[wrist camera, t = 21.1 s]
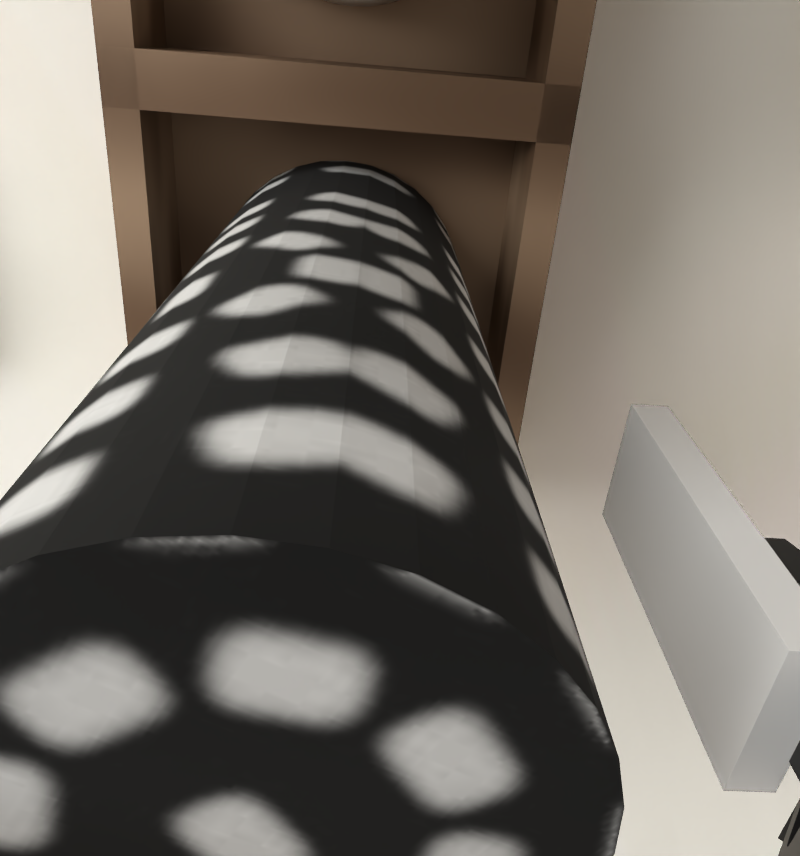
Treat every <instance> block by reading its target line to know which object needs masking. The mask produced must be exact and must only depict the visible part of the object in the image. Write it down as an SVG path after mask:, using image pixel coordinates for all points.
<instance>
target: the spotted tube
mask: <svg viewBox="0 0 800 856" xmlns="http://www.w3.org/2000/svg"><path fill="white" fill-rule="evenodd" d="M623 811H624V801H623V792H622V782H621V773H620V763H619V757H618V754H617V751H616V748H615V745H614V742H613V739H612V736H611V732H610V729H609V726H608V723H607V720H606V717H605V714H604V711H603V708H602V705H601V702H600V698H599V695H598V692H597V689H596V686H595V683H594V680H593V677H592V674H591V671H590V668H589V664H588V661H587V658H586V655H585V652H584V649H583V646H582V643H581V640H580V637H579V633H578V630H577V627H576V624H575V621H574V618H573V615H572V612H571V609H570V606H569V603H568V599H567V596H566V593H565V590H564V587H563V584H562V581H561V578H560V575H559V572H558V569H557V565H556V562H555V559H554V556H553V553H552V550H551V547H550V544H549V541H548V538H547V535H546V531H545V528H544V525H543V522H542V519H541V516H540V513H539V510H538V507H537V504H536V500H535V497H534V494H533V491H532V488H531V485H530V482H529V479H528V476H527V473H526V470H525V466H524V463H523V460H522V457H521V454H520V451H519V448H518V445H517V442H516V439H515V436H514V432H513V429H512V426H511V423H510V420H509V417H508V414H507V411H506V408H505V405H504V402H503V398H502V395H501V392H500V389H499V386H498V383H497V380H496V377H495V374H494V371H493V368H492V364H491V361H490V358H489V355H488V352H487V349H486V346H485V343H484V340H483V337H482V333H481V330H480V327H479V324H478V321H477V318H476V315H475V312H474V309H473V306H472V303H471V299H470V296H469V293H468V290H467V287H466V284H465V281H464V278H463V275H462V272H461V269H460V265H459V262H458V259H457V256H456V253H455V250H454V247H453V245H452V242H451V240H450V237H449V235H448V232H447V230H446V227H445V225H444V224H443V222H442V221H441V219H440V218H439V216H438V215H437V213H436V212H435V210H434V209H433V207H432V206H431V205H430V204H429V203H428V202H427V201H426V200H425V199H424V198H423V197H422V196H421V195H420V194H419V193H418V192H417V191H416V190H415V189H414V188H413V187H411V186H410V185H408V184H407V183H405V182H404V181H402V180H401V179H399V178H398V177H396V176H395V175H393V174H391V173H388V172H386V171H383V170H381V169H379V168H376V167H374V166H371V165H367V164H361V163H356V162H351V161H319V162H314V163H310V164H306V165H302V166H297V167H295V168H293V169H290V170H288V171H286V172H284V173H282V174H280V175H278V176H276V177H274V178H272V179H271V180H270V181H268V182H267V183H266V184H265V185H263V186H262V187H261V188H259V189H258V190H257V191H255V192H254V194H253V195H252V196H251V197H250V198H249V200H248V201H247V202H246V203H245V204H244V205H243V207H242V208H241V209H240V210H239V211H238V213H237V214H236V215H235V216H234V217H233V219H232V220H231V221H230V222H229V224H228V225H227V226H226V227H225V228H224V230H223V231H222V232H221V233H220V234H219V236H218V237H217V238H216V239H215V240H214V242H213V243H212V244H211V245H210V247H209V248H208V249H207V250H206V251H205V253H204V254H203V255H202V256H201V257H200V259H199V260H198V261H197V262H196V264H195V265H194V266H193V267H192V268H191V270H190V271H189V272H188V273H187V274H186V276H185V277H184V278H183V279H182V281H181V282H180V283H179V284H178V285H177V287H176V288H175V289H174V290H173V291H172V293H171V294H170V295H169V296H168V298H167V299H166V300H165V301H164V302H163V304H162V305H161V306H160V307H159V308H158V310H157V311H156V312H155V313H154V314H153V316H152V317H151V318H150V319H149V321H148V322H147V323H146V324H145V325H144V327H143V328H142V329H141V330H140V331H139V333H138V334H137V335H136V336H135V338H134V339H133V340H132V341H131V342H130V344H129V345H128V346H127V347H126V348H125V350H124V351H123V352H122V353H121V355H120V356H119V357H118V358H117V359H116V361H115V362H114V363H113V364H112V365H111V367H110V368H109V369H108V370H107V372H106V373H105V374H104V375H103V376H102V378H101V379H100V380H99V381H98V382H97V384H96V385H95V386H94V387H93V388H92V390H91V391H90V392H89V393H88V395H87V396H86V397H85V398H84V399H83V401H82V402H81V403H80V404H79V405H78V407H77V408H76V409H75V410H74V412H73V413H72V414H71V415H70V416H69V418H68V419H67V420H66V421H65V422H64V424H63V425H62V426H61V427H60V429H59V430H58V431H57V432H56V433H55V435H54V436H53V437H52V438H51V439H50V441H49V442H48V443H47V444H46V445H45V447H44V448H43V449H42V450H41V452H40V453H39V454H38V455H37V456H36V458H35V459H34V460H33V461H32V462H31V464H30V465H29V466H28V467H27V469H26V470H25V471H24V472H23V473H22V475H21V476H20V477H19V478H18V479H17V481H16V482H15V483H14V484H13V486H12V487H11V488H10V489H9V490H8V492H7V493H6V494H5V495H4V496H3V498H2V499H1V500H0V856H613V855H614V853H615V849H616V844H617V839H618V834H619V830H620V825H621V820H622V816H623Z"/></svg>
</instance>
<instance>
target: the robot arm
mask: <svg viewBox="0 0 800 856" xmlns="http://www.w3.org/2000/svg"><path fill="white" fill-rule="evenodd" d="M603 516H604V519H605V521H606V523H607V525H608V528H609V530H610V532H611V535H612V537H613V539H614V541H615V544H616V546H617V548H618V551H619V553H620V555H621V557H622V560H623V562H624V564H625V567H626V569H627V571H628V573H629V576H630V578H631V580H632V583H633V585H634V587H635V589H636V592H637V594H638V596H639V599H640V601H641V603H642V605H643V608H644V610H645V612H646V615H647V617H648V619H649V622H650V624H651V626H652V628H653V631H654V633H655V635H656V638H657V640H658V642H659V644H660V647H661V649H662V651H663V654H664V656H665V658H666V660H667V663H668V665H669V667H670V670H671V672H672V674H673V676H674V679H675V681H676V683H677V686H678V688H679V690H680V692H681V695H682V697H683V699H684V702H685V704H686V706H687V708H688V711H689V713H690V715H691V718H692V720H693V722H694V725H695V727H696V729H697V731H698V734H699V736H700V738H701V741H702V743H703V745H704V747H705V750H706V752H707V754H708V757H709V759H710V761H711V763H712V766H713V768H714V770H715V773H716V775H717V777H718V779H719V782H720V784H721V786H722V789H723V790H724V791H751V792H776V791H777V789H778V787H779V785H780V783H781V781H782V779H783V777H784V776H785V774H786V772H787V770H788V768H789V766H790V764H791V766H792V768H793V770H794V772H795V774H796V775H797V777H798V779H799V781H800V550H799V549H798V548H796V547H795V546H794V545H792V544H791V543H789V542H788V541H787V540H785V539H776V538H764V537H763V535H762V534H761V533H760V531H759V530H758V529H757V527H756V526H755V524H754V523H753V522H752V520H751V519H750V518H749V516H748V515H747V513H746V512H745V511H744V509H743V508H742V507H741V505H740V504H739V503H738V501H737V500H736V498H735V497H734V496H733V494H732V493H731V492H730V490H729V489H728V487H727V486H726V485H725V483H724V482H723V481H722V479H721V478H720V477H719V475H718V474H717V472H716V471H715V470H714V468H713V467H712V466H711V464H710V463H709V461H708V460H707V459H706V457H705V456H704V455H703V453H702V452H701V451H700V449H699V448H698V446H697V445H696V444H695V442H694V441H693V440H692V438H691V437H690V435H689V434H688V433H687V431H686V430H685V429H684V427H683V426H682V425H681V423H680V422H679V420H678V419H677V418H676V416H675V415H674V414H673V412H672V411H671V409H670V408H669V407H668V406H654V405H639V404H631V408H630V412H629V415H628V419H627V423H626V427H625V431H624V434H623V438H622V442H621V446H620V449H619V453H618V457H617V461H616V465H615V468H614V472H613V476H612V480H611V484H610V487H609V491H608V495H607V499H606V503H605V506H604V510H603ZM778 838H779V839H780V840H782V841H783V844H782V847H781V849H780V852H779V855H778V856H800V800H799V801H798V803H797V805H796V807H795V808H794V810H793V812H792V814H791V816H790V817H789V819H788V821H787V823H786V825H785V826H784V828H783V830H782V832H781V834H780V835H779V837H778Z"/></svg>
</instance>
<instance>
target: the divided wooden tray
mask: <svg viewBox="0 0 800 856" xmlns="http://www.w3.org/2000/svg"><path fill="white" fill-rule="evenodd" d="M596 2H597V0H398V1H394V2H391V3H388V4H383V5H375V6H346V5H340V4H334V3H330V2H327V1H324V0H91V6H92V15H93V25H94V34H95V43H96V52H97V62H98V71H99V80H100V90H101V99H102V108H103V118H104V127H105V136H106V146H107V155H108V164H109V174H110V183H111V192H112V202H113V211H114V220H115V230H116V239H117V248H118V258H119V267H120V276H121V286H122V295H123V304H124V314H125V323H126V332H127V342H128V345H129V344H130V342H131V341H132V340H133V339H134V338H135V336H136V335H137V334H138V333H139V331H140V330H141V329H142V328H143V327H144V325H145V324H146V323H147V322H148V321H149V319H150V318H151V317H152V316H153V314H154V313H155V312H156V311H157V310H158V308H159V307H160V306H161V305H162V304H163V302H164V301H165V300H166V299H167V298H168V296H169V295H170V294H171V293H172V291H173V290H174V289H175V288H176V287H177V285H178V284H179V283H180V282H181V281H182V279H183V278H184V277H185V276H186V274H187V273H188V272H189V271H190V270H191V268H192V267H193V266H194V265H195V264H196V262H197V261H198V260H199V259H200V257H201V256H202V255H203V254H204V253H205V251H206V250H207V249H208V248H209V247H210V245H211V244H212V243H213V242H214V240H215V239H216V238H217V237H218V236H219V234H220V233H221V232H222V231H223V230H224V228H225V227H226V226H227V225H228V224H229V222H230V221H231V220H232V219H233V217H234V216H235V215H236V214H237V213H238V211H239V210H240V209H241V208H242V207H243V205H244V204H245V203H246V202H247V201H248V200H249V198H250V197H251V196H252V195H253V194H254V192H255V191H257V190H258V189H259V188H261V187H262V186H263V185H265V184H266V183H267V182H268V181H270V180H271V179H272V178H274V177H276V176H278V175H280V174H282V173H284V172H286V171H288V170H290V169H293V168H295V167H297V166H302V165H306V164H310V163H314V162H319V161H351V162H356V163H361V164H367V165H371V166H374V167H376V168H379V169H381V170H383V171H386V172H388V173H391V174H393V175H395V176H396V177H398V178H399V179H401V180H402V181H404V182H405V183H407V184H408V185H410V186H411V187H413V188H414V189H415V190H416V191H417V192H418V193H419V194H420V195H421V196H422V197H423V198H424V199H425V200H426V201H427V202H428V203H429V204H430V205H431V206H432V207H433V209H434V210H435V212H436V213H437V215H438V216H439V218H440V219H441V221H442V222H443V224H444V225H445V227H446V230H447V232H448V235H449V237H450V240H451V242H452V245H453V247H454V250H455V253H456V256H457V259H458V262H459V265H460V269H461V272H462V275H463V278H464V281H465V284H466V287H467V290H468V293H469V296H470V299H471V303H472V306H473V309H474V312H475V315H476V318H477V321H478V324H479V327H480V330H481V333H482V337H483V340H484V343H485V346H486V349H487V352H488V355H489V358H490V361H491V364H492V368H493V371H494V374H495V377H496V380H497V383H498V386H499V389H500V392H501V395H502V398H503V402H504V405H505V408H506V411H507V414H508V417H509V420H510V423H511V426H512V429H513V432H514V436H515V439H516V442H517V445H518V440H519V435H520V429H521V424H522V418H523V412H524V407H525V401H526V395H527V390H528V384H529V379H530V373H531V367H532V362H533V356H534V351H535V345H536V339H537V334H538V328H539V322H540V317H541V311H542V306H543V300H544V294H545V289H546V283H547V277H548V272H549V266H550V261H551V255H552V249H553V244H554V238H555V232H556V227H557V221H558V216H559V210H560V204H561V199H562V193H563V188H564V182H565V176H566V171H567V165H568V159H569V154H570V148H571V143H572V137H573V131H574V126H575V120H576V114H577V109H578V103H579V98H580V92H581V86H582V81H583V75H584V70H585V64H586V58H587V53H588V47H589V41H590V36H591V30H592V25H593V19H594V13H595V8H596Z"/></svg>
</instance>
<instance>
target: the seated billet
mask: <svg viewBox="0 0 800 856" xmlns="http://www.w3.org/2000/svg"><path fill="white" fill-rule="evenodd" d="M324 1H327V2H330V3H334V4H340V5H346V6H375V5H383V4H388V3H391V2H394V1H398V0H324Z"/></svg>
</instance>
